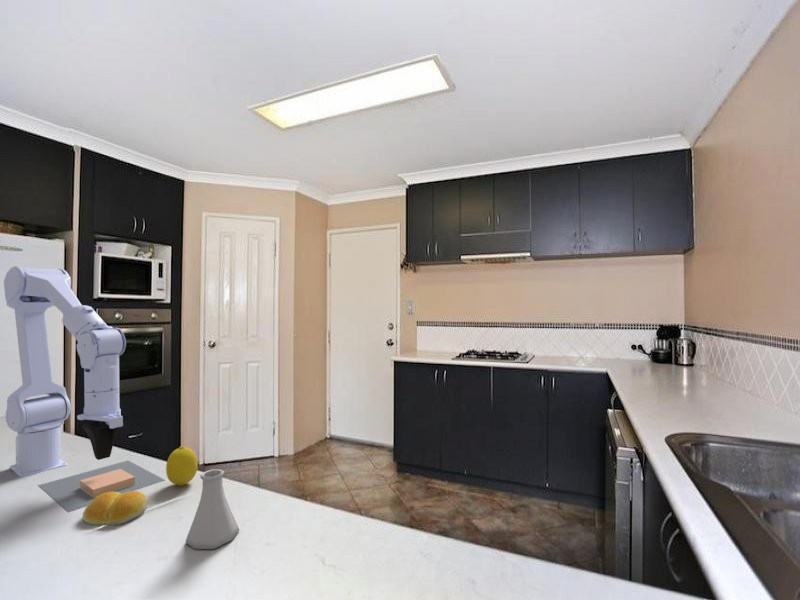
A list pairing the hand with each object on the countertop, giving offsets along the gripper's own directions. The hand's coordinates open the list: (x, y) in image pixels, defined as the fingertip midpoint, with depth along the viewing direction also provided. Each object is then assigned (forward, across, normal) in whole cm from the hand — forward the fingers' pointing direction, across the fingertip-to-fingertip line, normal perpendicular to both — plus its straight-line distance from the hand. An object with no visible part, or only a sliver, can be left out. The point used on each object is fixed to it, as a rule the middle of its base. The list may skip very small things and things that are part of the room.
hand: (102, 457), depth 85 cm
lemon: (+6, +14, +9) cm, 17 cm away
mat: (+5, 0, 0) cm, 5 cm away
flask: (+6, +36, +3) cm, 36 cm away
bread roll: (+6, +16, -3) cm, 17 cm away
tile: (+4, -1, 0) cm, 4 cm away
